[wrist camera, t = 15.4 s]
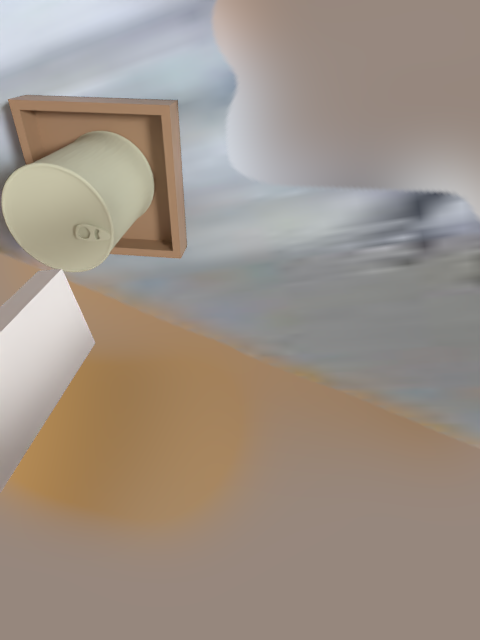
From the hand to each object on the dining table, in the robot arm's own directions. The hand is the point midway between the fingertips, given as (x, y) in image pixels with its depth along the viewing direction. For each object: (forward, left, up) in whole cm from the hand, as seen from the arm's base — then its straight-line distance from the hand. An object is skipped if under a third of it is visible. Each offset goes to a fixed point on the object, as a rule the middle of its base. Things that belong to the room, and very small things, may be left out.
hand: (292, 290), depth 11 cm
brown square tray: (+7, -18, -32) cm, 37 cm away
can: (+7, -18, -31) cm, 37 cm away
